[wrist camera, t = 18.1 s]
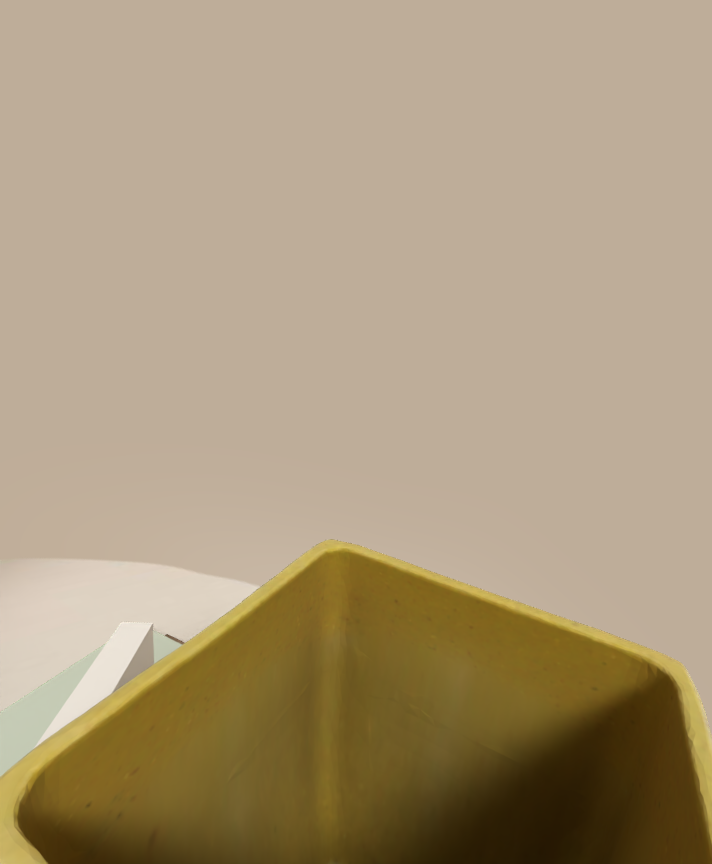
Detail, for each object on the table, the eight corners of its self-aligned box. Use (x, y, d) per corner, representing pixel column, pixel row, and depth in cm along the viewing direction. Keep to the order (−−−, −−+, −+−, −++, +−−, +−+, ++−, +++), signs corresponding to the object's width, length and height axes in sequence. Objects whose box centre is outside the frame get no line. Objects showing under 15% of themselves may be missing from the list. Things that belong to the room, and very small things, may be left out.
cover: (-65, 791, 22) (-74, 741, 22) (138, 647, 33) (137, 610, 32) (98, 950, 17) (94, 893, 17) (275, 720, 28) (277, 679, 27)
